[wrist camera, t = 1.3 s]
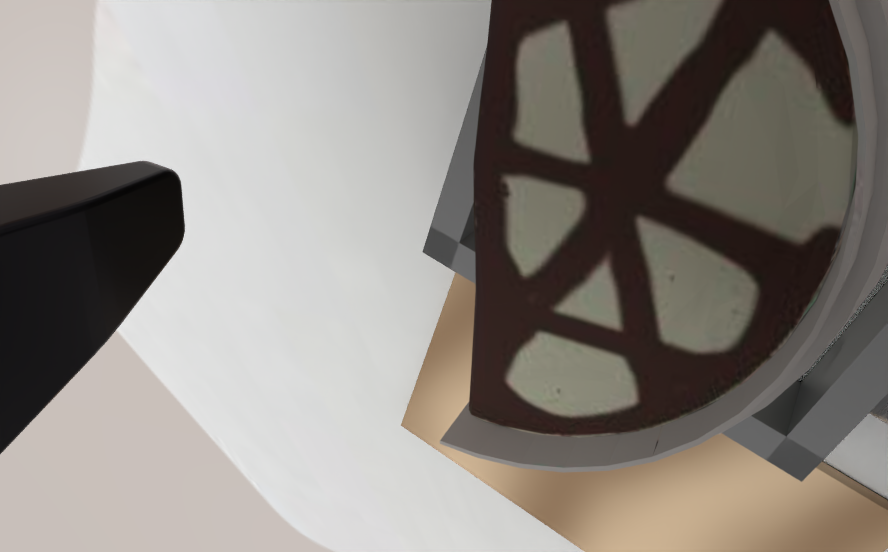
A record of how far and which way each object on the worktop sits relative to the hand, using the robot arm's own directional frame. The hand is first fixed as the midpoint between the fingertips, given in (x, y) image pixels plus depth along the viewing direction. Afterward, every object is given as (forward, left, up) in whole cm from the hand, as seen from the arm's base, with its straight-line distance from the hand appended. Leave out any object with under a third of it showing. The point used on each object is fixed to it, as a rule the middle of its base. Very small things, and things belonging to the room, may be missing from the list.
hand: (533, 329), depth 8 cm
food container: (0, 0, -13) cm, 13 cm away
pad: (-2, +14, -13) cm, 19 cm away
